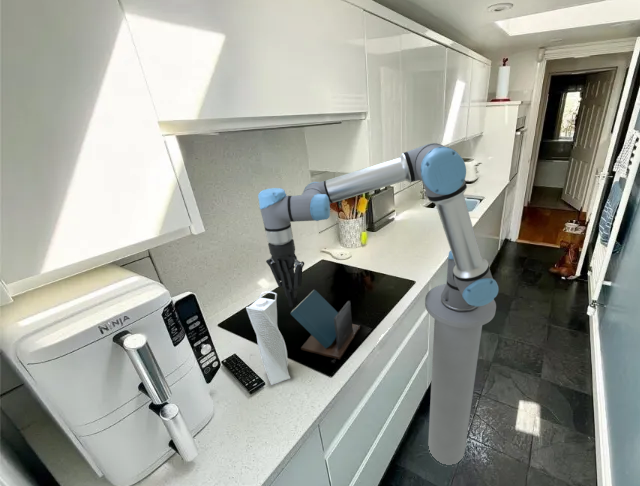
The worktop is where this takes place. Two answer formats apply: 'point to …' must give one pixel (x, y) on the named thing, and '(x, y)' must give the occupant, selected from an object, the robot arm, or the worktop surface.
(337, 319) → the book rest
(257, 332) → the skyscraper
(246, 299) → the worktop surface
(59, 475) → the worktop surface
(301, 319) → the book
